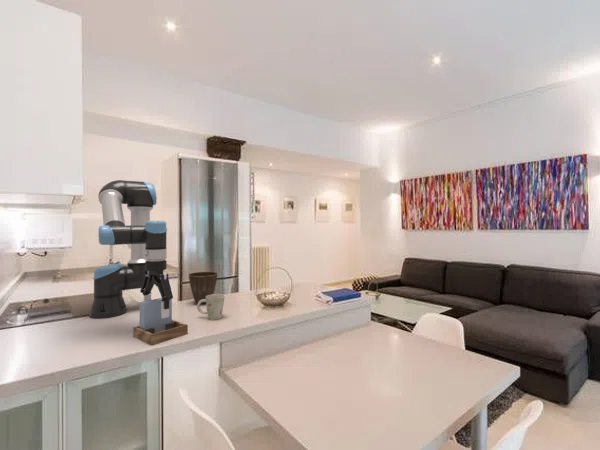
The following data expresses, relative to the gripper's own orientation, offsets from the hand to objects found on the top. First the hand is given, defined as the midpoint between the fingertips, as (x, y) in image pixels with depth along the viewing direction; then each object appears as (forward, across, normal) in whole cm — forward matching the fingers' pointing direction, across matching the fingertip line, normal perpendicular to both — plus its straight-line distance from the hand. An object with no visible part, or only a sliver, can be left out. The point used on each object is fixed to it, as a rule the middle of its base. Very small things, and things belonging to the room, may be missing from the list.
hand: (156, 314), depth 117 cm
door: (+6, 0, 0) cm, 6 cm away
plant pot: (+8, -24, +39) cm, 47 cm away
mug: (+8, +1, +25) cm, 26 cm away
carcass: (+7, +4, 0) cm, 8 cm away
